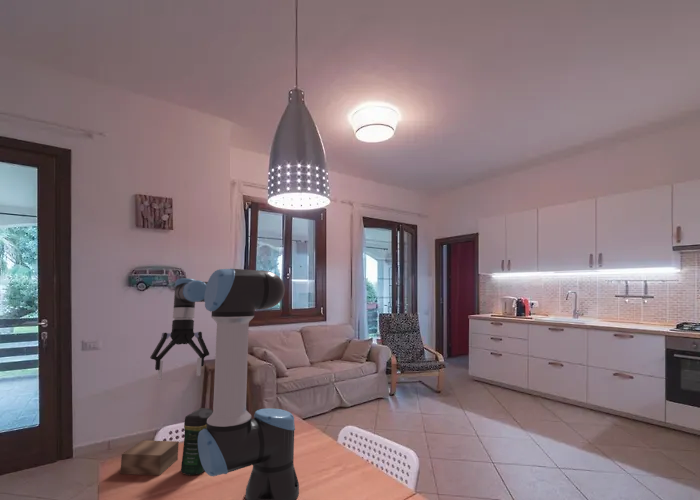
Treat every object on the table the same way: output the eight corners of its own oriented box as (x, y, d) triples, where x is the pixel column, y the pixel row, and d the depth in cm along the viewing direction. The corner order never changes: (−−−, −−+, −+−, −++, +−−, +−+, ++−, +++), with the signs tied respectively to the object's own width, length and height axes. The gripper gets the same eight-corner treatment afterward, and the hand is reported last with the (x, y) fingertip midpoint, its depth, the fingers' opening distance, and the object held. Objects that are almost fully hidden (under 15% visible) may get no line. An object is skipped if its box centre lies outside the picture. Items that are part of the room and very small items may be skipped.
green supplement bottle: (200, 477, 116) (203, 415, 118) (176, 475, 117) (180, 414, 119) (214, 463, 126) (217, 406, 128) (193, 461, 127) (196, 405, 129)
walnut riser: (177, 459, 128) (178, 441, 129) (159, 475, 117) (160, 455, 118) (141, 458, 129) (142, 440, 129) (120, 473, 118) (121, 454, 119)
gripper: (212, 319, 151) (210, 373, 147) (144, 319, 136) (139, 380, 131) (219, 318, 146) (216, 374, 141) (149, 319, 130) (143, 382, 126)
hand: (179, 377), depth 136 cm, fingers open, 13 cm apart
